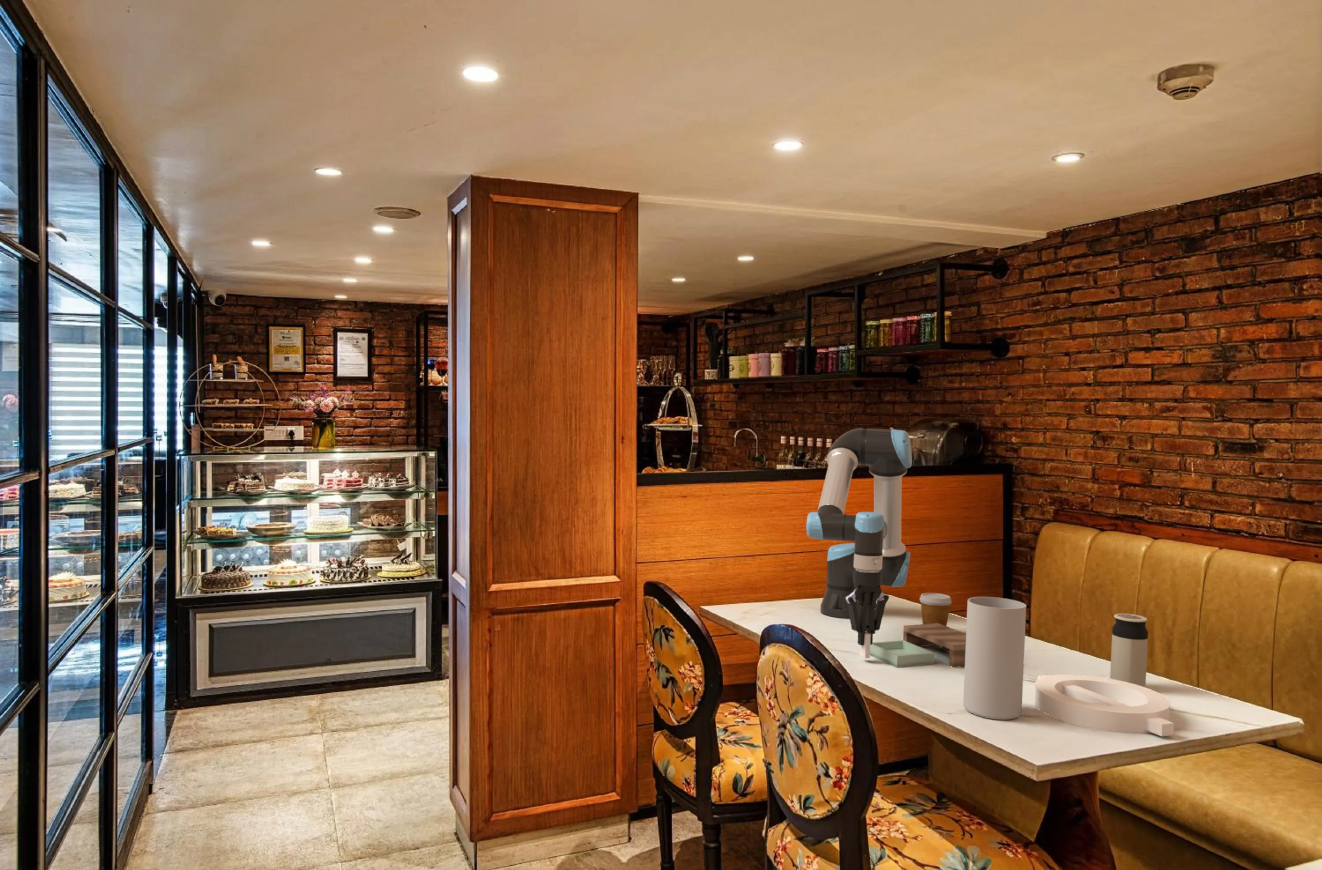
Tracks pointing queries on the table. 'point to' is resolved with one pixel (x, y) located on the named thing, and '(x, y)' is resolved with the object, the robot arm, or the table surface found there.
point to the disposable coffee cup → (935, 608)
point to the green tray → (901, 653)
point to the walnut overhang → (938, 640)
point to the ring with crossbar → (1103, 704)
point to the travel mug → (1129, 649)
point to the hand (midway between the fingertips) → (864, 656)
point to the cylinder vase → (994, 657)
